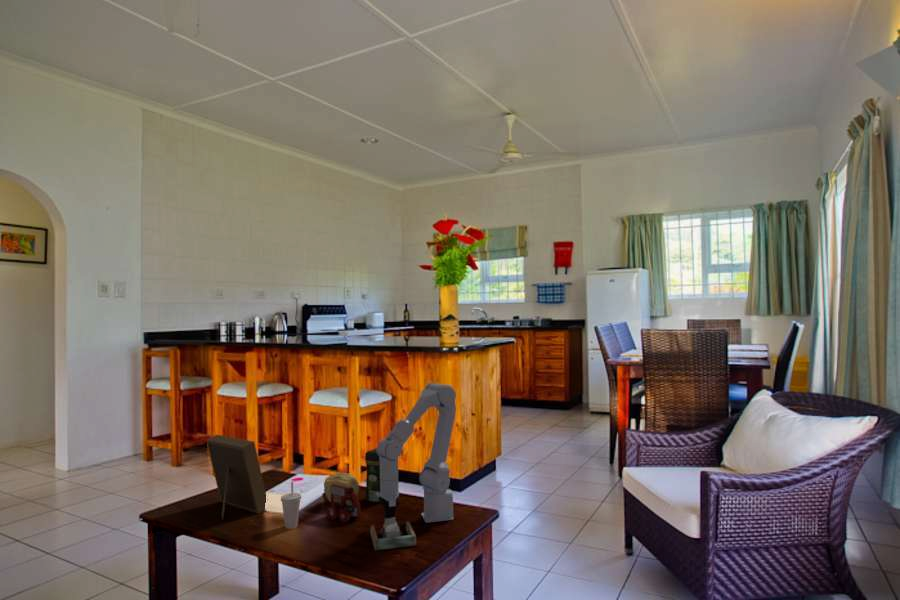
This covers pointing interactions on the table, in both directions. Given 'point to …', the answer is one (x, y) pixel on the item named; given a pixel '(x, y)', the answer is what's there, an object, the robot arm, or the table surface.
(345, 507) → the red toy race car
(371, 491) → the coffee jar
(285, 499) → the smoothie
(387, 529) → the grey knobbed block
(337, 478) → the sculpture
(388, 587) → the table surface
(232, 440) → the photo frame
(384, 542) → the bay
